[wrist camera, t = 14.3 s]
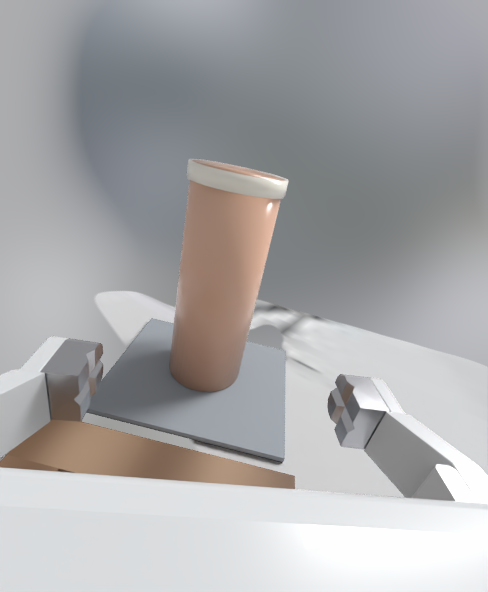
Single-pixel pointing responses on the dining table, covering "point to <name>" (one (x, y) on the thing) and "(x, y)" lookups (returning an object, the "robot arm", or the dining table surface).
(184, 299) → the peach tumbler
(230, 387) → the grey mat
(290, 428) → the dining table surface
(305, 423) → the dining table surface
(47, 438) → the walnut holder
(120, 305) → the dining table surface
